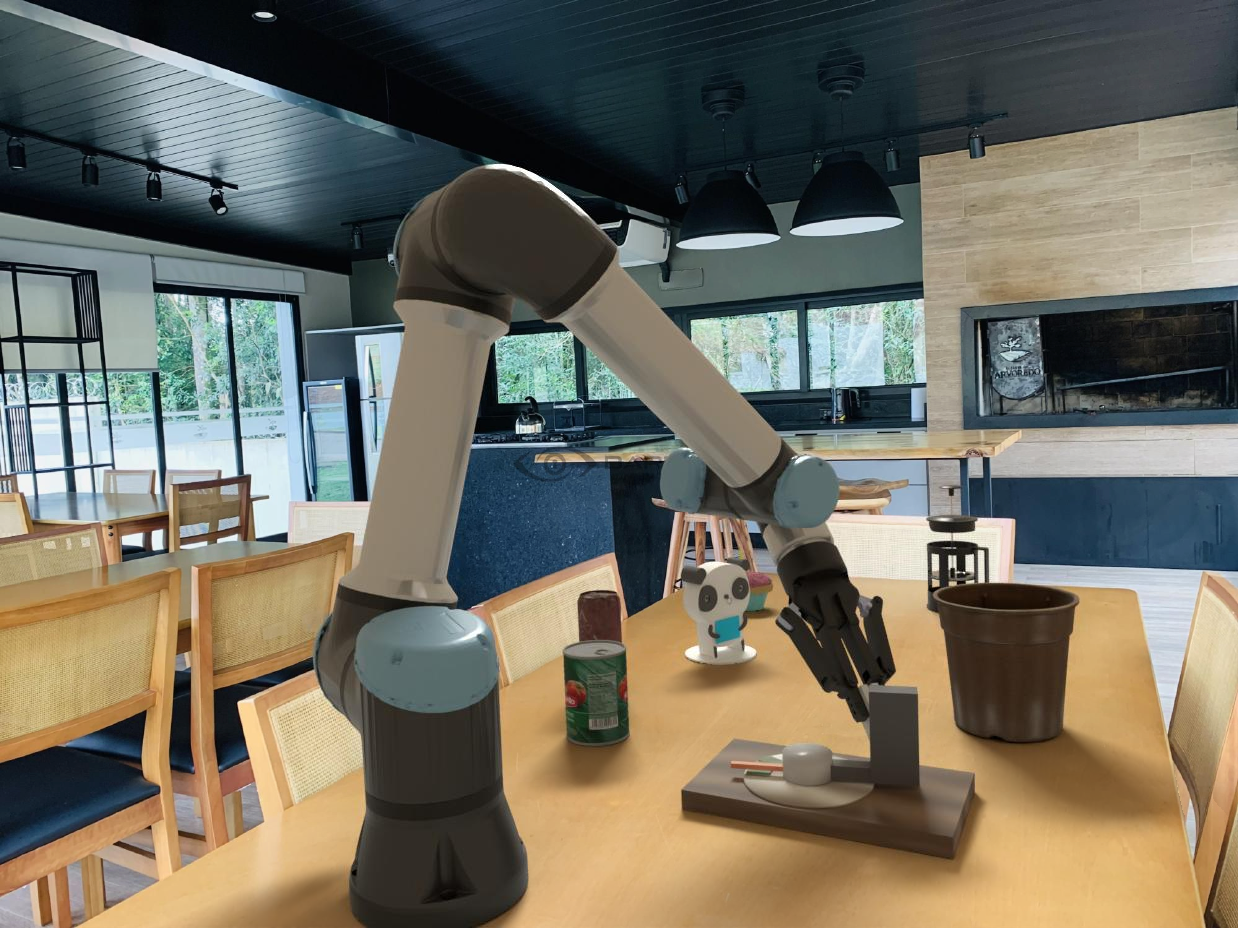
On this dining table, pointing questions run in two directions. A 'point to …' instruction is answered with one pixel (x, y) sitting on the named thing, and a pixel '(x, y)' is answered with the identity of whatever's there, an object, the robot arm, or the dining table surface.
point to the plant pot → (1007, 657)
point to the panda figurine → (718, 610)
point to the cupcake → (757, 589)
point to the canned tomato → (596, 692)
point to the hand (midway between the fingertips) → (889, 747)
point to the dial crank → (888, 747)
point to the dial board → (836, 801)
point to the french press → (952, 551)
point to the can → (599, 616)
